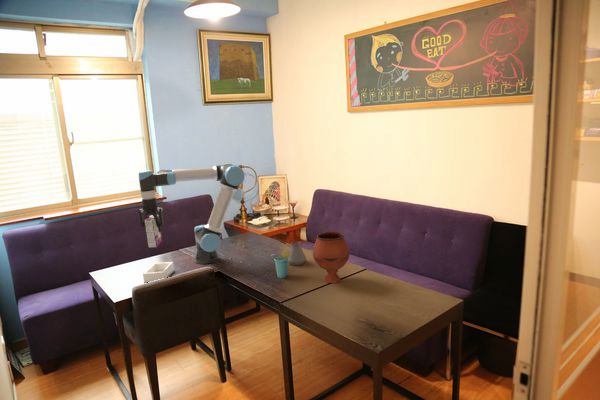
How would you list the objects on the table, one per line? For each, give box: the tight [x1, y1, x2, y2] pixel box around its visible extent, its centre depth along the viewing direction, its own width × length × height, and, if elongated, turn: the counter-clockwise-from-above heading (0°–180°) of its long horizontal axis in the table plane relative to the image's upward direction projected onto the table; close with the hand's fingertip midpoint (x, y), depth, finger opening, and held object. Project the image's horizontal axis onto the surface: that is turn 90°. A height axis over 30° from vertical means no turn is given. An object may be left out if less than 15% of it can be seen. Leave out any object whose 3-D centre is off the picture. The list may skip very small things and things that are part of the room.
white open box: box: [142, 261, 175, 284], centre depth 238 cm, size 11×17×6 cm, turn 179°
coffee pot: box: [272, 236, 307, 266], centre depth 247 cm, size 21×12×15 cm, turn 60°
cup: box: [270, 249, 290, 279], centre depth 225 cm, size 14×8×15 cm, turn 141°
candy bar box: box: [144, 214, 163, 249], centre depth 233 cm, size 11×5×16 cm, turn 3°
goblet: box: [312, 231, 350, 284], centre depth 215 cm, size 19×19×25 cm
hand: (154, 237), depth 233 cm, fingers closed on candy bar box, 5 cm apart
